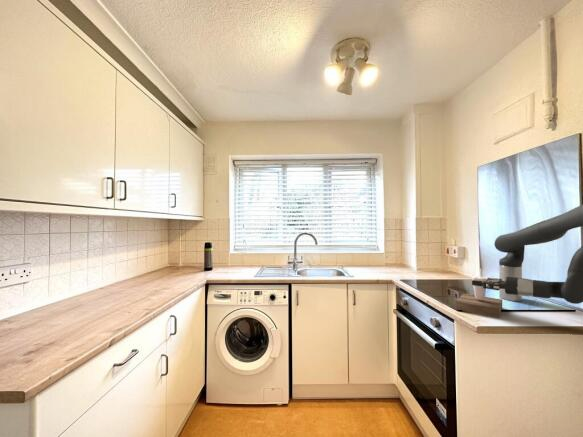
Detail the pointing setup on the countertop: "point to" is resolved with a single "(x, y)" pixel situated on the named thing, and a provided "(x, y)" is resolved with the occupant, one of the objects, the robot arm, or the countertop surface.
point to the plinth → (479, 305)
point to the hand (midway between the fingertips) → (473, 281)
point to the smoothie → (479, 290)
